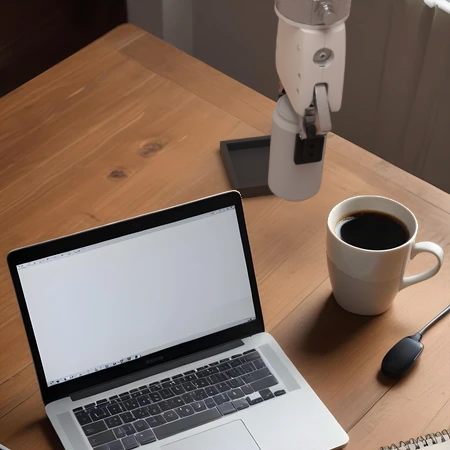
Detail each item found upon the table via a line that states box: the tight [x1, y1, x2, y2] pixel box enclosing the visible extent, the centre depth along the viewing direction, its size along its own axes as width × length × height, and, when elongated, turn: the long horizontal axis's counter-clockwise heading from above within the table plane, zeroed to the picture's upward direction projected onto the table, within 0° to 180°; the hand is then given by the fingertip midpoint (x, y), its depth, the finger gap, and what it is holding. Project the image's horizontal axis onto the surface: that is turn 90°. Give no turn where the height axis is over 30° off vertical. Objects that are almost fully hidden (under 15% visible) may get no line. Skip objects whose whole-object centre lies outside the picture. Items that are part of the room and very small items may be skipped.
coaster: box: [219, 134, 275, 199], centre depth 126 cm, size 11×11×2 cm
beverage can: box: [268, 94, 328, 203], centre depth 97 cm, size 6×6×12 cm
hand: (298, 140), depth 96 cm, fingers closed on beverage can, 6 cm apart
